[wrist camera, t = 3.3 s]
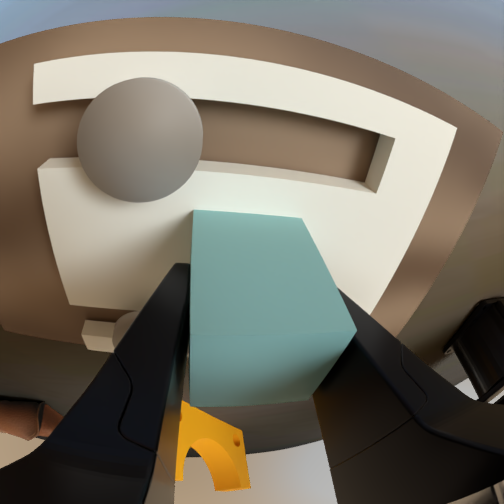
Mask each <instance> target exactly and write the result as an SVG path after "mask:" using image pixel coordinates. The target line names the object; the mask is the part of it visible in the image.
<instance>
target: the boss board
mask: <svg viewBox="0 0 504 504" xmlns="http://www.w3.org/2000/svg"><path fill="white" fill-rule="evenodd" d="M118 52H188V53H203V54H214V55H223V56H232V57H239V58H246V59H253V60H259V61H265V62H270V63H276V64H281V65H285V66H290V67H295V68H299V69H303V70H307V71H311V72H315V73H319V74H323V75H326V76H330V77H333V78H337V79H340V80H343V81H347V82H350V83H353V84H356V85H359V86H362V87H365V88H368V89H371V90H373V91H376V92H379V93H382V94H384V95H387V96H389V97H392V98H394V99H397V100H399V101H402V102H404V103H406V104H409V105H411V106H413V107H416V108H418V109H420V110H422V111H424V112H427V113H429V114H431V115H433V116H435V117H437V118H439V119H441V120H443V121H445V122H447V123H449V124H451V125H453V126H454V127H456V128H457V130H456V133H455V136H454V139H453V142H452V145H451V148H450V151H449V154H448V157H447V159H446V162H445V165H444V167H443V170H442V173H441V175H440V178H439V180H438V183H437V185H436V188H435V190H434V193H433V195H432V197H431V200H430V202H429V204H428V206H427V209H426V211H425V213H424V215H423V218H422V220H421V222H420V224H419V226H418V228H417V230H416V232H415V235H414V237H413V239H412V241H411V243H410V245H409V247H408V249H407V251H406V252H405V254H404V256H403V258H402V260H401V262H400V264H399V266H398V268H397V270H396V271H395V273H394V275H393V277H392V279H391V280H390V282H389V284H388V286H387V287H386V289H385V291H384V293H383V294H382V296H381V298H380V299H379V301H378V303H377V304H376V306H375V308H374V309H373V311H372V313H371V314H370V316H371V317H373V318H374V319H375V320H376V321H377V322H378V323H379V324H381V325H382V326H383V327H384V328H385V329H386V330H387V331H389V332H390V333H391V334H392V335H393V336H394V337H396V336H397V335H398V333H399V332H400V331H401V329H402V328H403V327H404V325H405V324H406V323H407V321H408V320H409V318H410V317H411V316H412V314H413V313H414V311H415V310H416V308H417V307H418V306H419V304H420V303H421V301H422V300H423V298H424V297H425V295H426V294H427V292H428V290H429V289H430V287H431V286H432V284H433V283H434V281H435V279H436V278H437V276H438V274H439V273H440V271H441V269H442V268H443V266H444V264H445V263H446V261H447V259H448V257H449V256H450V254H451V252H452V250H453V249H454V247H455V245H456V243H457V241H458V239H459V237H460V235H461V234H462V232H463V230H464V228H465V226H466V224H467V222H468V220H469V218H470V216H471V213H472V211H473V209H474V207H475V205H476V203H477V200H478V198H479V196H480V194H481V191H482V189H483V187H484V184H485V182H486V179H487V177H488V174H489V172H490V169H491V167H492V164H493V161H494V158H495V156H496V153H497V150H498V147H499V144H500V141H501V138H502V135H503V132H502V131H501V130H500V129H498V128H497V127H496V126H494V125H493V124H492V123H490V122H489V121H488V120H486V119H485V118H483V117H482V116H480V115H479V114H477V113H476V112H475V111H473V110H471V109H470V108H468V107H467V106H465V105H464V104H462V103H461V102H459V101H457V100H456V99H454V98H452V97H451V96H449V95H447V94H446V93H444V92H442V91H440V90H439V89H437V88H435V87H433V86H431V85H429V84H428V83H426V82H424V81H422V80H420V79H418V78H416V77H414V76H412V75H410V74H408V73H406V72H404V71H401V70H399V69H397V68H395V67H393V66H390V65H388V64H386V63H383V62H381V61H379V60H376V59H374V58H371V57H369V56H366V55H363V54H361V53H358V52H355V51H352V50H350V49H347V48H344V47H341V46H338V45H335V44H332V43H328V42H325V41H322V40H318V39H315V38H311V37H307V36H304V35H300V34H296V33H291V32H287V31H283V30H278V29H273V28H268V27H263V26H257V25H251V24H245V23H238V22H230V21H222V20H212V19H200V18H180V17H144V18H124V19H112V20H103V21H95V22H87V23H81V24H75V25H69V26H64V27H59V28H54V29H50V30H45V31H41V32H37V33H33V34H30V35H26V36H23V37H19V38H16V39H13V40H10V41H7V42H4V43H1V44H0V324H1V325H2V327H3V329H4V330H5V331H8V332H13V333H18V334H23V335H28V336H33V337H38V338H44V339H50V340H56V341H62V342H69V343H76V344H84V345H85V342H84V340H83V338H82V335H81V334H82V330H83V326H84V323H85V320H92V321H102V322H112V323H116V324H115V327H114V332H113V337H112V342H113V346H114V348H115V347H116V346H117V344H118V343H119V341H120V340H121V338H122V337H123V335H124V334H125V332H126V331H127V329H128V328H129V327H130V325H131V324H132V322H133V321H134V319H135V318H136V316H137V315H138V314H139V312H140V311H134V310H120V309H108V308H97V307H87V306H77V305H70V304H69V301H68V298H67V295H66V292H65V289H64V286H63V283H62V280H61V277H60V273H59V270H58V266H57V263H56V259H55V256H54V252H53V248H52V244H51V240H50V236H49V232H48V227H47V223H46V218H45V213H44V208H43V203H42V197H41V191H40V184H39V178H38V170H37V169H38V168H39V167H40V166H41V165H42V164H44V163H45V162H46V161H47V160H48V159H50V158H70V157H79V160H80V162H81V165H82V168H83V169H84V171H85V173H86V175H87V176H88V177H89V179H90V180H91V181H92V182H93V183H94V185H95V186H97V187H98V188H99V189H100V190H101V191H103V192H104V193H106V194H108V195H110V196H112V197H114V198H116V199H119V200H122V201H127V202H135V203H144V202H151V201H155V200H159V199H162V198H164V197H166V196H168V195H170V194H172V193H174V192H175V191H176V190H178V189H179V188H180V187H181V186H183V185H184V184H185V183H186V182H187V180H188V179H189V178H190V177H191V175H192V174H193V172H194V171H195V169H196V167H197V165H198V162H199V160H203V161H216V162H227V163H237V164H247V165H256V166H264V167H272V168H280V169H288V170H295V171H301V172H308V173H315V174H321V175H327V176H333V177H338V178H344V179H349V180H355V181H360V182H365V180H366V177H367V174H368V171H369V168H370V165H371V162H372V159H373V156H374V153H375V150H376V146H377V143H378V140H379V137H380V133H377V132H374V131H370V130H367V129H363V128H360V127H356V126H353V125H349V124H345V123H341V122H337V121H333V120H329V119H325V118H321V117H316V116H312V115H307V114H302V113H297V112H292V111H287V110H281V109H275V108H269V107H263V106H257V105H250V104H242V103H234V102H225V101H216V100H205V99H192V98H190V97H189V96H188V95H187V94H186V93H185V92H184V91H183V90H181V89H180V88H179V87H177V86H176V85H174V84H172V83H170V82H168V81H165V80H162V79H158V78H151V77H140V78H133V79H129V80H125V81H122V82H119V83H117V84H114V85H112V86H110V87H109V88H107V89H105V90H104V91H103V92H101V93H100V94H99V95H98V96H97V97H96V98H88V99H75V100H65V101H56V102H48V103H41V104H34V105H33V76H34V64H36V63H41V62H46V61H51V60H57V59H63V58H69V57H76V56H84V55H93V54H104V53H118ZM188 353H189V344H188ZM188 353H187V355H188Z"/></svg>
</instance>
